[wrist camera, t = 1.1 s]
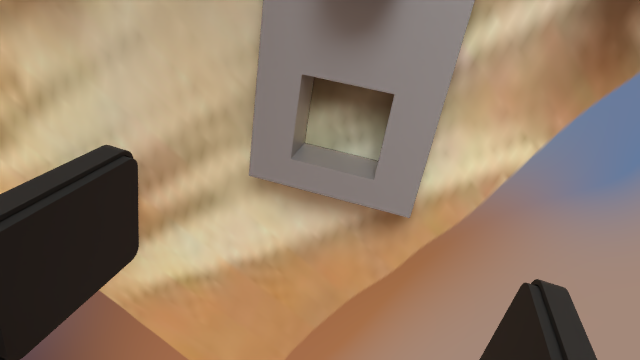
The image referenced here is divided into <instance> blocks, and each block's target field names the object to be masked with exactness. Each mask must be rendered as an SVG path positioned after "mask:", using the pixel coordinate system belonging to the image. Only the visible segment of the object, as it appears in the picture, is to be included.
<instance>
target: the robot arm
mask: <svg viewBox="0 0 640 360" xmlns="http://www.w3.org/2000/svg"><path fill="white" fill-rule="evenodd" d="M138 247H139V234H138V165H137V162H136V160H135V159H133V156H132V154H131V153H130V152H129V151H126V150H123V149H119V148H116V147H113V146H110V145H104V146H101V147H99V148H97V149H95V150H93V151H91V152H89V153H87V154H85V155H82V156H80V157H78V158H76V159H74V160H72V161H70V162H68V163H66V164H63V165H61V166H59V167H57V168H55V169H53V170H51V171H49V172H47V173H44V174H42V175H40V176H38V177H36V178H34V179H32V180H30V181H28V182H25V183H23V184H21V185H19V186H17V187H15V188H13V189H11V190H9V191H6V192H4V193H2V194H0V360H20V359H21V358H23V357H24V356H25V355H26V354H27V353H29V352H30V351H31V350H32V349H33V348H34V347H35V346H36V345H38V344H39V343H40V342H41V341H42V340H43V339H44V338H45V337H47V336H48V335H49V334H50V333H51V332H52V331H53V330H54V329H56V328H57V327H58V325H60V324H61V323H62V322H63V321H64V320H66V318H68V317H69V316H70V315H71V314H72V313H73V312H75V311H76V310H77V309H78V308H79V307H80V306H81V305H82V304H83V303H84V302H86V301H87V300H88V299H89V298H90V297H91V296H92V295H94V294H95V293H96V292H97V291H98V290H99V289H100V288H101V287H103V286H104V285H105V284H106V283H107V282H108V281H109V280H110V279H112V278H113V277H114V276H115V275H116V274H117V273H118V272H119V271H121V270H122V269H123V268H124V267H125V266H126V265H127V264H128V263H129V262H131V261H132V260H133V258H134V257H135V256H136V254H137V251H138ZM480 360H597V358H596V356H595V353H594V351H593V349H592V346H591V344H590V342H589V340H588V337H587V335H586V332H585V330H584V328H583V325H582V323H581V321H580V318H579V316H578V314H577V311H576V309H575V307H574V304H573V302H572V300H571V297H570V295H569V293H568V291H567V289H566V288H564V287H561V286H558V285H554V284H551V283H548V282H545V281H542V280H538V279H537V280H534V281H533V282H532V283H531V284H529V283H524V284H522V286H521V287H520V289H519V291H518V292H517V294H516V296H515V297H514V299H513V301H512V303H511V305H510V306H509V308H508V310H507V312H506V313H505V315H504V317H503V319H502V321H501V322H500V324H499V326H498V328H497V330H496V331H495V333H494V335H493V337H492V339H491V340H490V342H489V344H488V346H487V347H486V349H485V351H484V353H483V355H482V356H481V358H480Z"/></svg>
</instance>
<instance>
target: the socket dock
mask: <svg viewBox="0 0 640 360" xmlns="http://www.w3.org/2000/svg"><path fill="white" fill-rule="evenodd" d="M474 1H475V0H263V10H262V23H261V35H260V47H259V59H258V71H257V83H256V95H255V107H254V119H253V131H252V143H251V156H250V168H249V176H252V177H256V178H260V179H264V180H268V181H271V182H275V183H279V184H283V185H286V186H290V187H294V188H298V189H302V190H305V191H309V192H313V193H317V194H321V195H324V196H328V197H332V198H336V199H339V200H343V201H347V202H351V203H355V204H358V205H362V206H366V207H370V208H374V209H377V210H381V211H385V212H389V213H392V214H396V215H400V216H404V217H408V218H410V216H411V212H412V209H413V206H414V202H415V199H416V196H417V192H418V189H419V185H420V182H421V179H422V175H423V172H424V169H425V165H426V162H427V159H428V155H429V152H430V149H431V145H432V142H433V139H434V135H435V132H436V129H437V125H438V122H439V118H440V115H441V112H442V108H443V105H444V102H445V98H446V95H447V92H448V88H449V85H450V82H451V78H452V75H453V72H454V68H455V65H456V62H457V58H458V55H459V51H460V48H461V45H462V41H463V38H464V35H465V31H466V28H467V25H468V21H469V18H470V15H471V11H472V8H473V5H474ZM314 77H317V78H322V79H326V80H331V81H336V82H340V83H345V84H349V85H354V86H359V87H363V88H368V89H372V90H377V91H382V92H386V93H391V94H394V99H393V103H392V107H391V111H390V115H389V119H388V124H387V128H386V132H385V136H384V140H383V144H382V149H381V153H380V157H379V161H376V160H372V159H368V158H364V157H359V156H355V155H351V154H347V153H343V152H339V151H335V150H331V149H327V148H323V147H319V146H315V145H310V144H306V143H305V137H306V130H307V123H308V116H309V109H310V102H311V96H312V89H313V82H314Z"/></svg>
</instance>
